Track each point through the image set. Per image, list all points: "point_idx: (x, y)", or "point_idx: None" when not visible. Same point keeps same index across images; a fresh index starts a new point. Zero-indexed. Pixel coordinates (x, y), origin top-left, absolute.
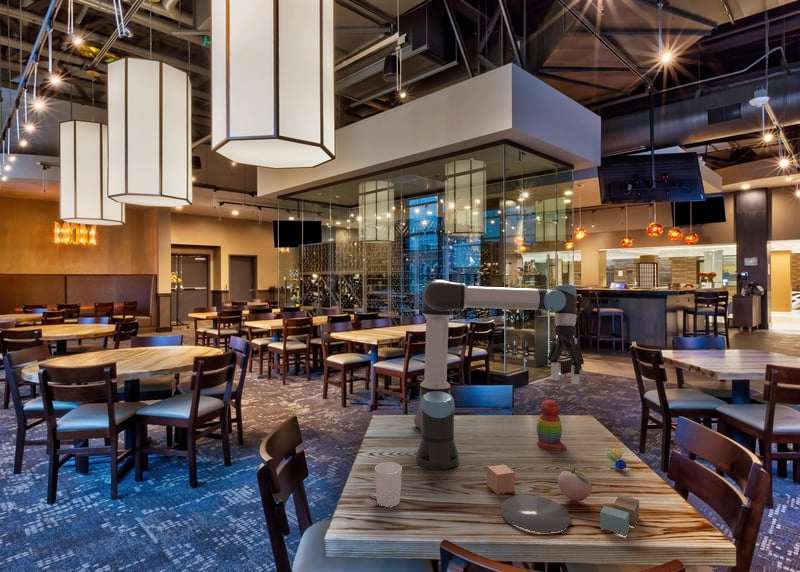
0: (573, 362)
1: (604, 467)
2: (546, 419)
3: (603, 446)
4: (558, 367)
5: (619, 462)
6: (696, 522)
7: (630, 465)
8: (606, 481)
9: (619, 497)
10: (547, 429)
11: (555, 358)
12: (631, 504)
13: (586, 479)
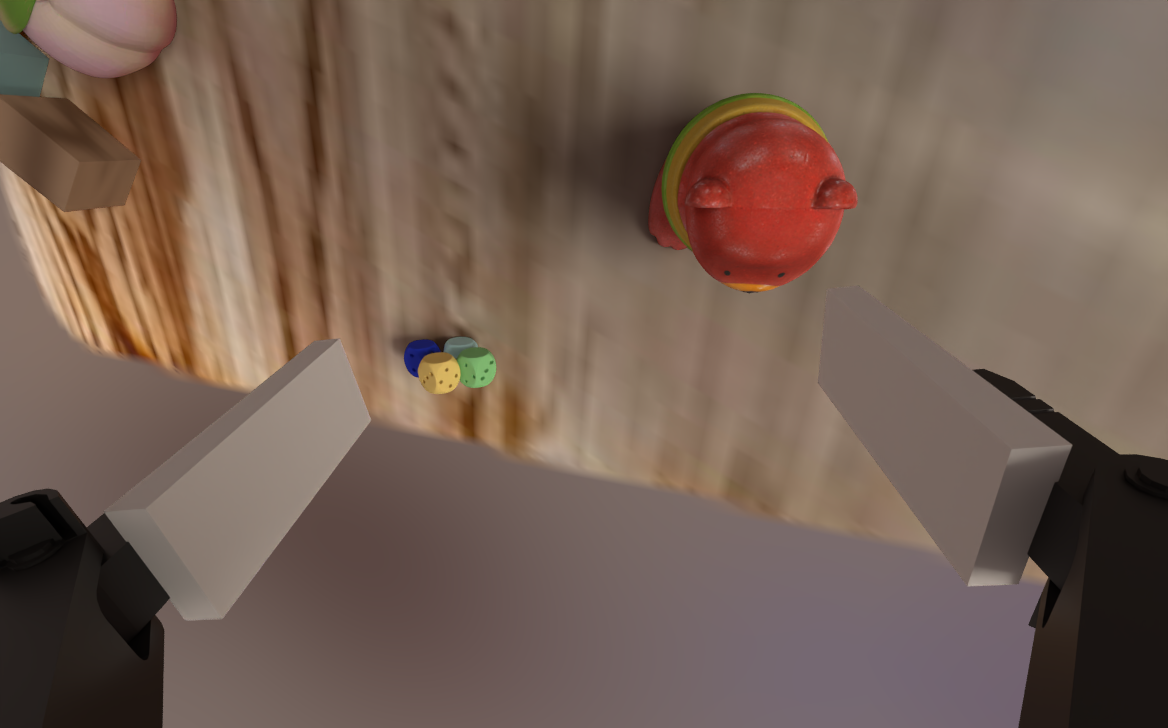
0: (25, 573)
1: (466, 308)
2: (702, 141)
3: (676, 429)
4: (912, 507)
5: (409, 352)
6: (147, 347)
7: (486, 412)
8: (347, 244)
9: (56, 149)
10: (677, 139)
11: (1060, 622)
12: (20, 163)
13: (3, 24)
